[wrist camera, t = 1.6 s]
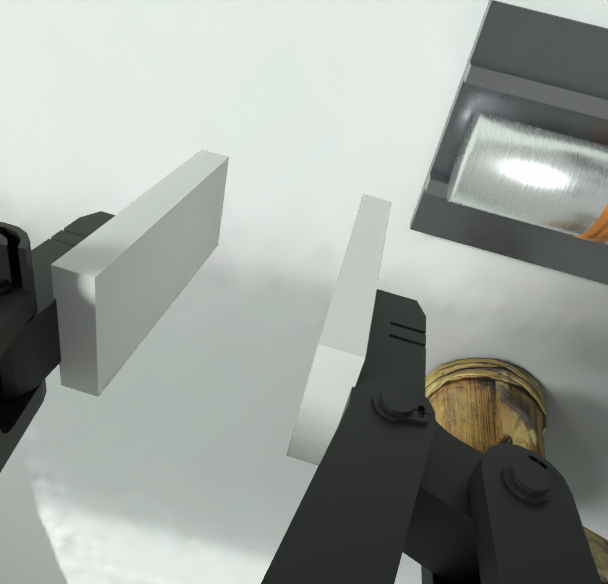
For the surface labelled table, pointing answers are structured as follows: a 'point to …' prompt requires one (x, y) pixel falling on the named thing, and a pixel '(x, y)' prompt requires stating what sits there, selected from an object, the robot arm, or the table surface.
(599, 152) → the tube
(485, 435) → the wooden mug
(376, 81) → the table surface
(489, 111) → the dark grey base rail
